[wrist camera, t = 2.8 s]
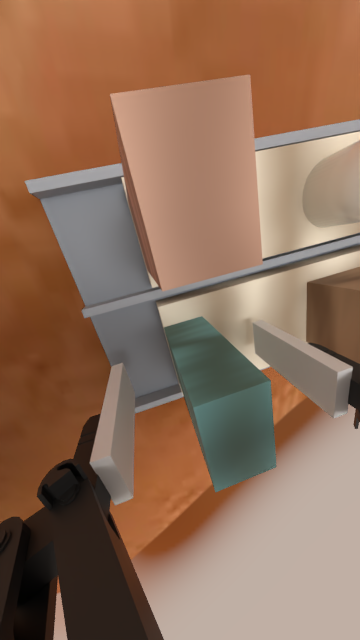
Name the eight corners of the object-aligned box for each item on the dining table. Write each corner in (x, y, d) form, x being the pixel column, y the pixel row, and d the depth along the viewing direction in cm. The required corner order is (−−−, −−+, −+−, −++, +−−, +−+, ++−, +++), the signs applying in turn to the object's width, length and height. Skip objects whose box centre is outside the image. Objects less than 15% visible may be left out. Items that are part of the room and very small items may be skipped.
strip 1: (150, 283, 15) (172, 330, 6) (123, 189, 13) (85, 1, 3) (362, 227, 17) (626, 195, 8) (372, 139, 15) (759, -53, 6)
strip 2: (178, 381, 18) (220, 512, 9) (155, 300, 15) (183, 370, 6) (351, 324, 21) (528, 380, 11) (360, 244, 18) (606, 231, 8)
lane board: (128, 400, 19) (127, 416, 17) (41, 192, 13) (24, 181, 11) (350, 326, 22) (370, 332, 20) (372, 128, 16) (403, 111, 14)
